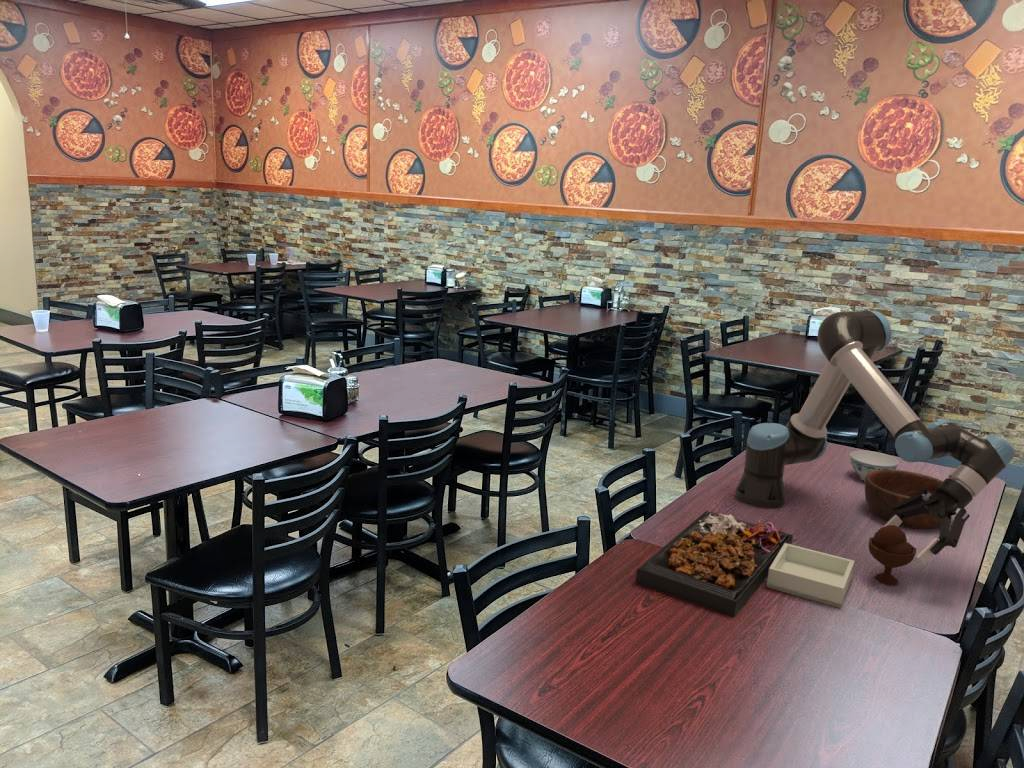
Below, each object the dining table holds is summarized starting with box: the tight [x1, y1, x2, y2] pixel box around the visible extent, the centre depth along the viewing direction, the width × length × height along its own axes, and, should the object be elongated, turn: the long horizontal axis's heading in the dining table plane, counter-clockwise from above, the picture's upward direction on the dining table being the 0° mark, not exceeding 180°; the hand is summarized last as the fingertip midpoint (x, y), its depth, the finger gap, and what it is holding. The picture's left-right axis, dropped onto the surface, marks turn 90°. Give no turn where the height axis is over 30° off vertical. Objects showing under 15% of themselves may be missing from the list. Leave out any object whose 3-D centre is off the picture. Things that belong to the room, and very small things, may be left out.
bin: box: [766, 543, 855, 609], centre depth 197 cm, size 17×17×5 cm
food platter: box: [635, 510, 794, 618], centre depth 204 cm, size 45×25×10 cm, turn 146°
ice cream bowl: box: [868, 525, 917, 587], centre depth 199 cm, size 11×11×15 cm
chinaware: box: [849, 450, 900, 482], centre depth 269 cm, size 15×15×8 cm
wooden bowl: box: [864, 469, 944, 530], centre depth 240 cm, size 25×25×10 cm
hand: (899, 548), depth 198 cm, fingers open, 13 cm apart
